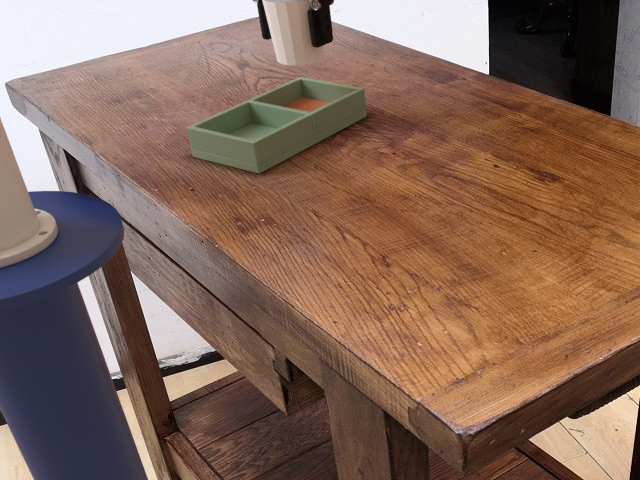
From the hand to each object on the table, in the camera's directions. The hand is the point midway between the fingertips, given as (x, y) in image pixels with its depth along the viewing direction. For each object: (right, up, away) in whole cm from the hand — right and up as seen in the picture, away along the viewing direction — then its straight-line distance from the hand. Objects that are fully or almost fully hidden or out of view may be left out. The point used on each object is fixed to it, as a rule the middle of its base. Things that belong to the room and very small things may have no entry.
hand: (297, 39), depth 98 cm
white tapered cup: (0, -2, +2) cm, 2 cm away
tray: (-2, -10, +3) cm, 11 cm away
